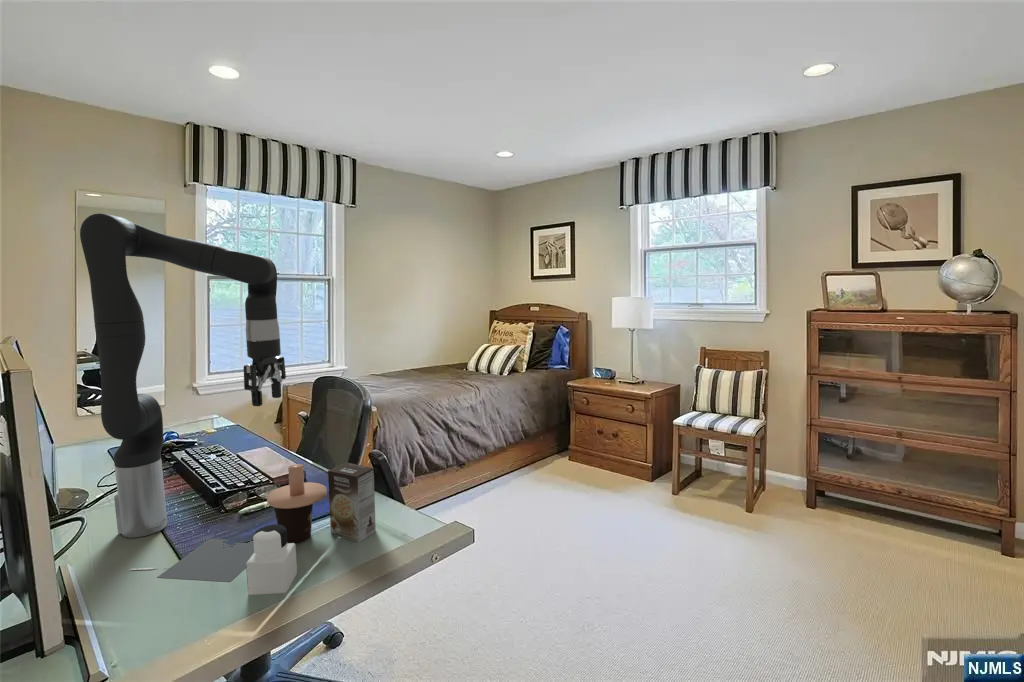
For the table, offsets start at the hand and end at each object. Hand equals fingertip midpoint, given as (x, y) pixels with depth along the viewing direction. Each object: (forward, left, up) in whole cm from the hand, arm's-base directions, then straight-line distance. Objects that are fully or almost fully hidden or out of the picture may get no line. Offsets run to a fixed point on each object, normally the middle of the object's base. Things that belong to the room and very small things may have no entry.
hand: (267, 401), depth 133 cm
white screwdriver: (-8, -27, -31) cm, 41 cm away
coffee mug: (+12, -10, -30) cm, 34 cm away
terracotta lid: (+12, -10, -20) cm, 25 cm away
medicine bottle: (+17, -29, -30) cm, 46 cm away
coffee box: (+24, -7, -30) cm, 39 cm away
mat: (0, -22, -30) cm, 37 cm away
